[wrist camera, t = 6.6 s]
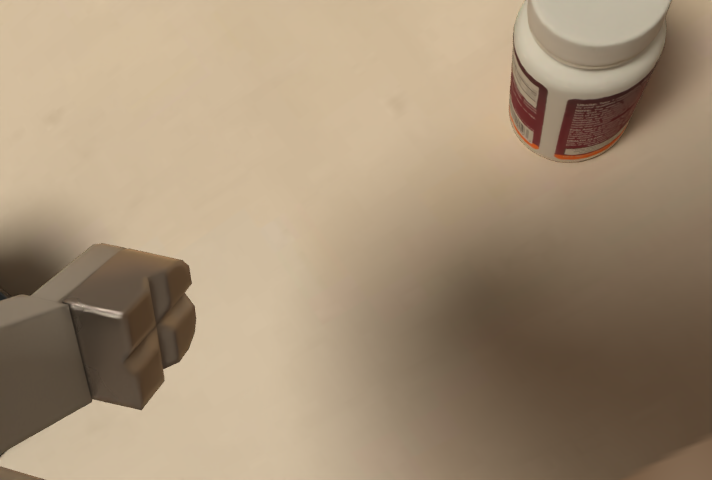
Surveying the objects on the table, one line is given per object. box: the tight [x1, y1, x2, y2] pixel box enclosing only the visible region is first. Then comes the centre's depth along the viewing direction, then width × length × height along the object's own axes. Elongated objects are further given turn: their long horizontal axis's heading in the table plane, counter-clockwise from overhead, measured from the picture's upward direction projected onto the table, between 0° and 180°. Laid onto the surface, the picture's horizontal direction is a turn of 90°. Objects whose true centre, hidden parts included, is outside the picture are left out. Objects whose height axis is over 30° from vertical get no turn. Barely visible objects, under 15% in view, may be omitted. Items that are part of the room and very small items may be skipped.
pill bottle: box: [509, 0, 671, 162], centre depth 23 cm, size 5×5×8 cm
